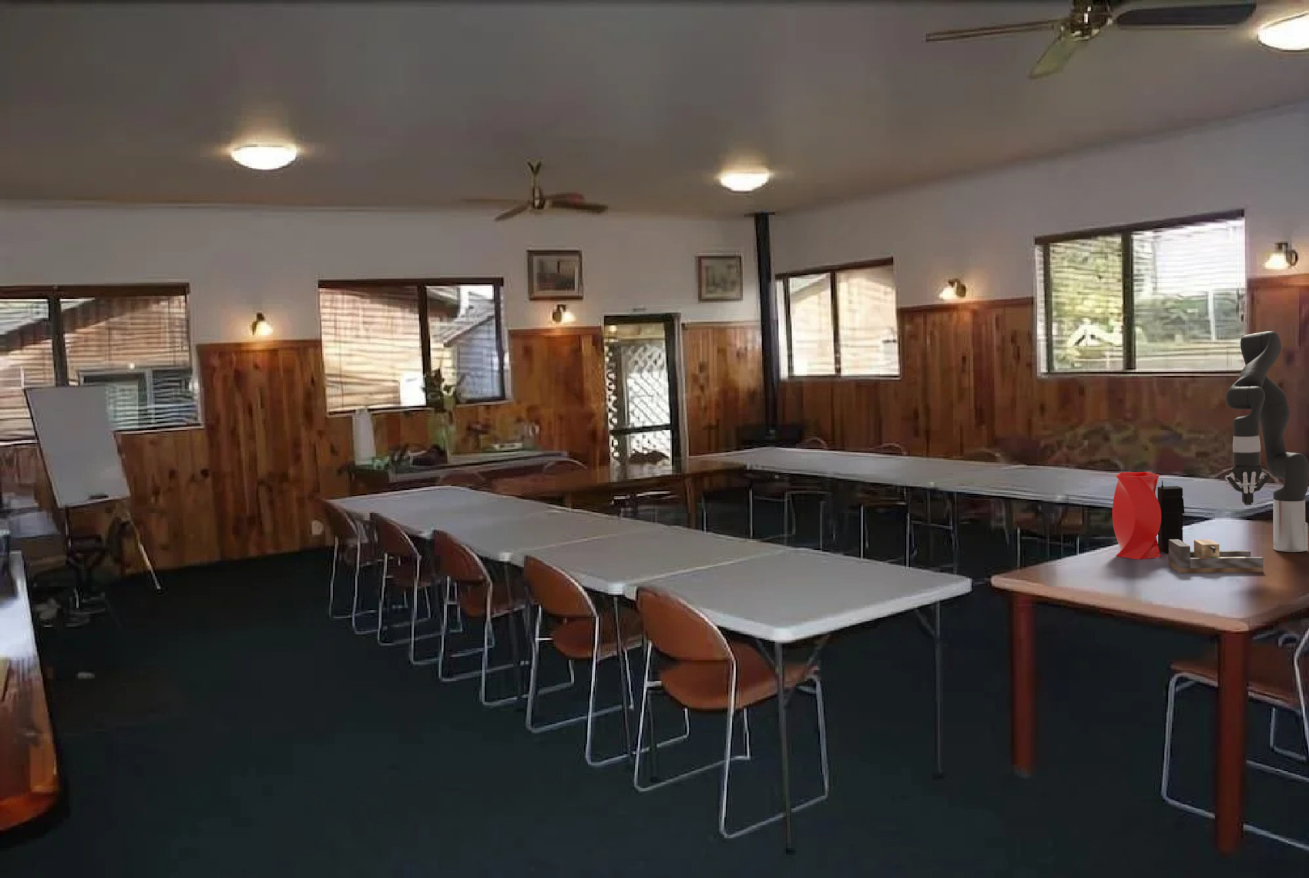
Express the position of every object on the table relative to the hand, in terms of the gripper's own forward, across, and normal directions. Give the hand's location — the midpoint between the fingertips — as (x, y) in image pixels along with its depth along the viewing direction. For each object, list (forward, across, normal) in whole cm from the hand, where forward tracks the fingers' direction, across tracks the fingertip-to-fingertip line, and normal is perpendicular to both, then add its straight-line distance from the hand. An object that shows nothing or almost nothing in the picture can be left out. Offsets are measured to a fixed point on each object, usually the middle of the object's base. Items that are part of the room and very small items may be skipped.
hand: (1247, 504), depth 328 cm
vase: (+20, +28, -23) cm, 42 cm away
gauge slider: (+18, +12, +2) cm, 22 cm away
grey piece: (+20, +10, 0) cm, 23 cm away
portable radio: (+20, +15, -28) cm, 38 cm away
